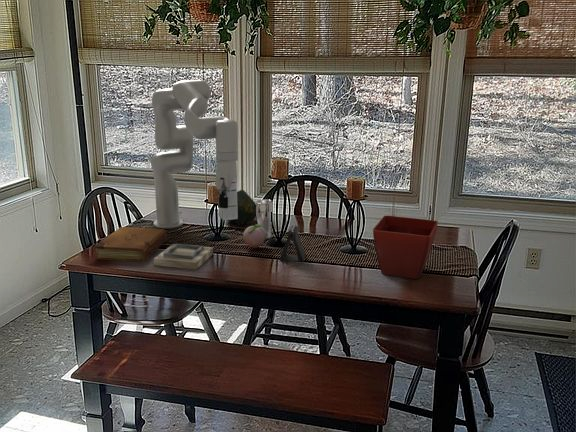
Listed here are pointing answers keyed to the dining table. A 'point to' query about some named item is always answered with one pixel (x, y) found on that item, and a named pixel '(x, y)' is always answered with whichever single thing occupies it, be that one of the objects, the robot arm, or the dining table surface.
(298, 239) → the phone stand
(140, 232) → the diary
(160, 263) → the base plate
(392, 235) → the plant pot
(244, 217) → the squash
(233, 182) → the syrup box
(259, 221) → the beer glass
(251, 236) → the decorative fruit
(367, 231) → the dining table surface
